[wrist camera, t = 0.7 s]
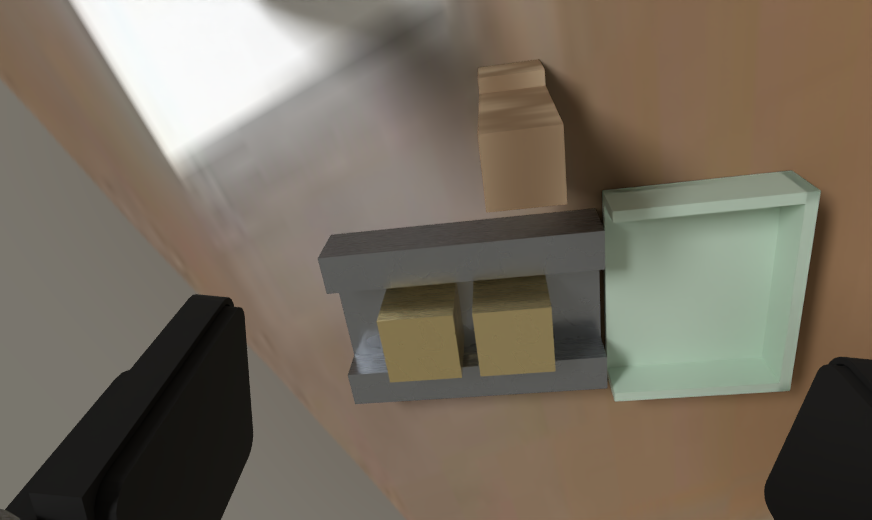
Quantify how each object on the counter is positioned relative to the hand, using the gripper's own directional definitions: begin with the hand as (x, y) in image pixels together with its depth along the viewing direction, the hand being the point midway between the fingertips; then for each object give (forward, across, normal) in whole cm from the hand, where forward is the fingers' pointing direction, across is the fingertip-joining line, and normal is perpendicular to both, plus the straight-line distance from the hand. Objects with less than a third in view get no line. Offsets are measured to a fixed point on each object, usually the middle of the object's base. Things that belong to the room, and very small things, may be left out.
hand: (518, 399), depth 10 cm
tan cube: (+22, +2, +12) cm, 25 cm away
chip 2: (+22, -3, +11) cm, 25 cm away
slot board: (+23, 0, +12) cm, 26 cm away
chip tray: (+23, -13, +9) cm, 28 cm away
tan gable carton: (+23, -2, 0) cm, 23 cm away
